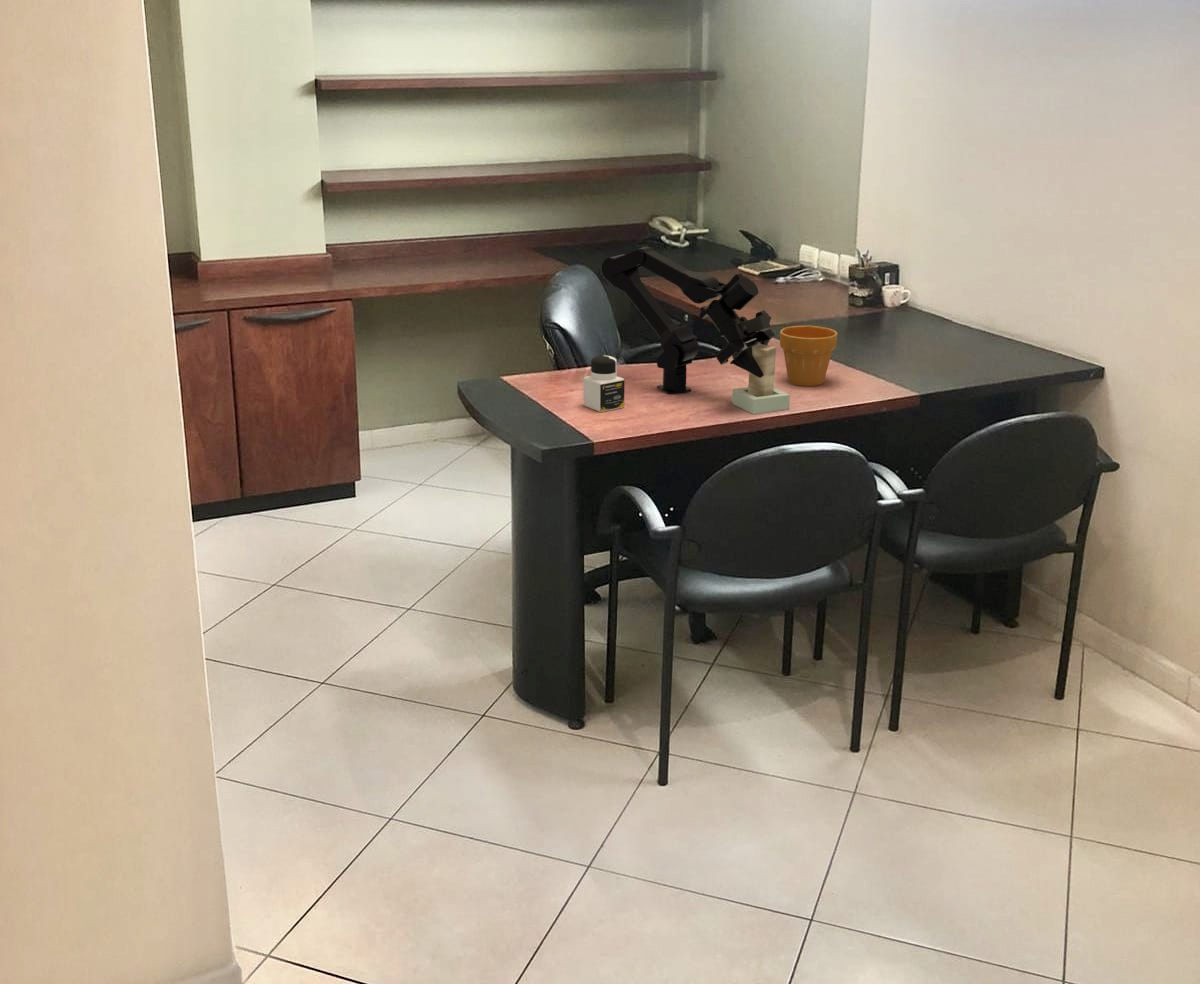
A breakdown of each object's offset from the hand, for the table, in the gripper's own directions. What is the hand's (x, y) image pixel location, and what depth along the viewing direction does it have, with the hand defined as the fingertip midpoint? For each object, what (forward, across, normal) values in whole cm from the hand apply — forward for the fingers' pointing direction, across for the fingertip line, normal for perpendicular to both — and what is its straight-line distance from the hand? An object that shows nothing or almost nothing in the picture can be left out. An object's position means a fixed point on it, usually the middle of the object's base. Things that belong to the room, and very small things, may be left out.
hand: (766, 374), depth 287 cm
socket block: (+5, 0, +7) cm, 8 cm away
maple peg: (+4, 0, +6) cm, 7 cm away
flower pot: (+4, +26, +8) cm, 27 cm away
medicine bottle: (-16, -22, +28) cm, 39 cm away
